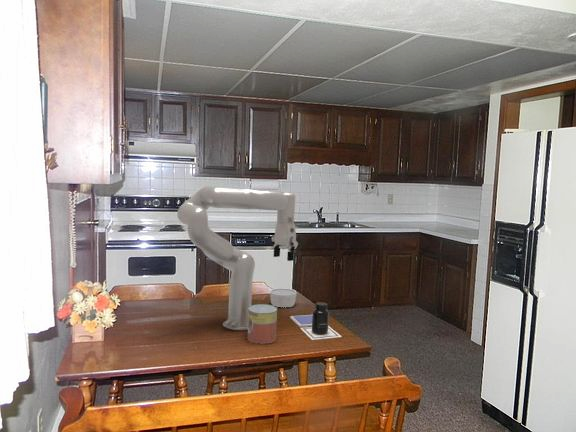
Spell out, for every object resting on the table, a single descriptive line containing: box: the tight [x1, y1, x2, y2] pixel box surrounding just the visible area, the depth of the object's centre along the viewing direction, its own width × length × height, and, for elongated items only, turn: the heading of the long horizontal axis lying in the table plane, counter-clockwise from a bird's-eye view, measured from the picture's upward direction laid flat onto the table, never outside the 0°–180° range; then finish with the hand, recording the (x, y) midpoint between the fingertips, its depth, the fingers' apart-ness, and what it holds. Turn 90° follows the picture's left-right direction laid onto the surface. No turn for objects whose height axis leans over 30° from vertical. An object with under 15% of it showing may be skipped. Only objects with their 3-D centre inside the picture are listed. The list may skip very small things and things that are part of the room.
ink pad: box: [289, 314, 313, 328], centre depth 191 cm, size 12×12×1 cm
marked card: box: [299, 325, 342, 341], centre depth 178 cm, size 13×13×1 cm
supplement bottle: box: [311, 301, 330, 335], centre depth 178 cm, size 7×7×12 cm
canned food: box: [246, 303, 278, 345], centre depth 170 cm, size 11×11×12 cm
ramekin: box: [269, 287, 298, 309], centre depth 214 cm, size 13×13×7 cm
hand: (283, 258), depth 192 cm, fingers open, 9 cm apart
